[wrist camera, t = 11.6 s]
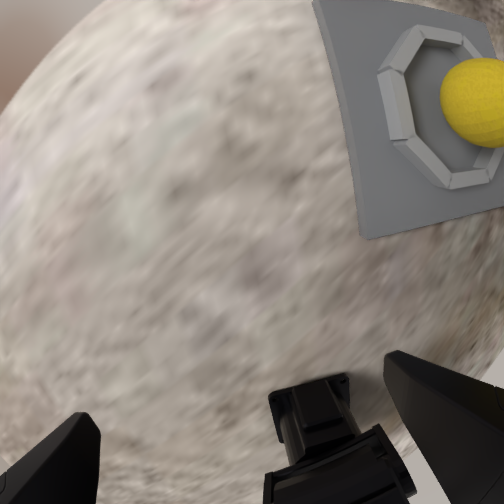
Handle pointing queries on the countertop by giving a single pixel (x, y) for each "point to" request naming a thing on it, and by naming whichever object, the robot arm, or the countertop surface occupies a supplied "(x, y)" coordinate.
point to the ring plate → (406, 113)
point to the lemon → (475, 101)
